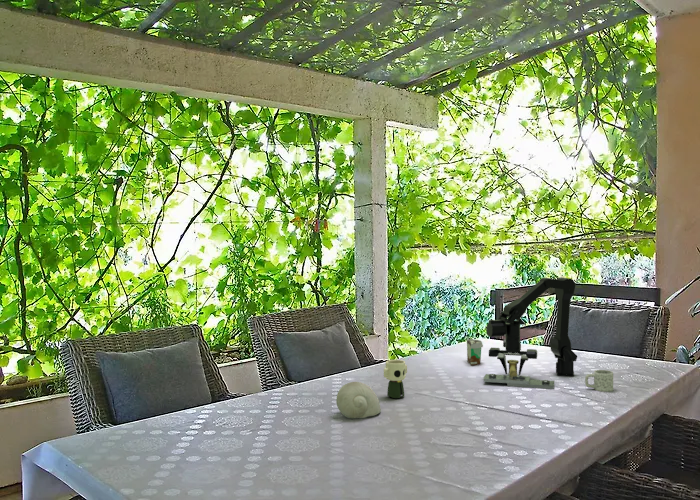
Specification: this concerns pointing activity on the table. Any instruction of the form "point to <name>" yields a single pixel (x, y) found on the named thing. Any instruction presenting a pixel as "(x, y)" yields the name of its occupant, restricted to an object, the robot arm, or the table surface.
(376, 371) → the table surface
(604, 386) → the mug
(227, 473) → the table surface
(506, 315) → the robot arm
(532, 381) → the plate with square hole
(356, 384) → the seashell
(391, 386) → the character mug
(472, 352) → the food container
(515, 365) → the brass pin
